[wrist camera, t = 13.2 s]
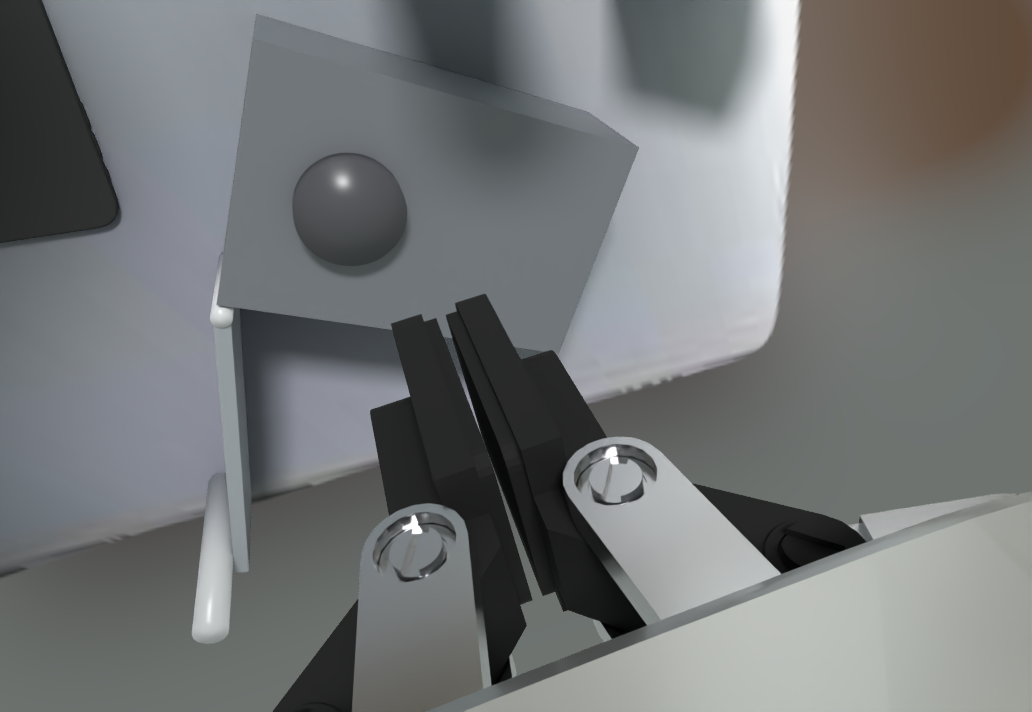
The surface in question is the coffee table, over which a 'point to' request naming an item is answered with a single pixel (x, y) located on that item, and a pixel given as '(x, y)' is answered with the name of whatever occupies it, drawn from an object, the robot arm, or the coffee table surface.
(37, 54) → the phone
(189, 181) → the coffee table surface
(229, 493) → the side door
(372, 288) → the cabinet body
